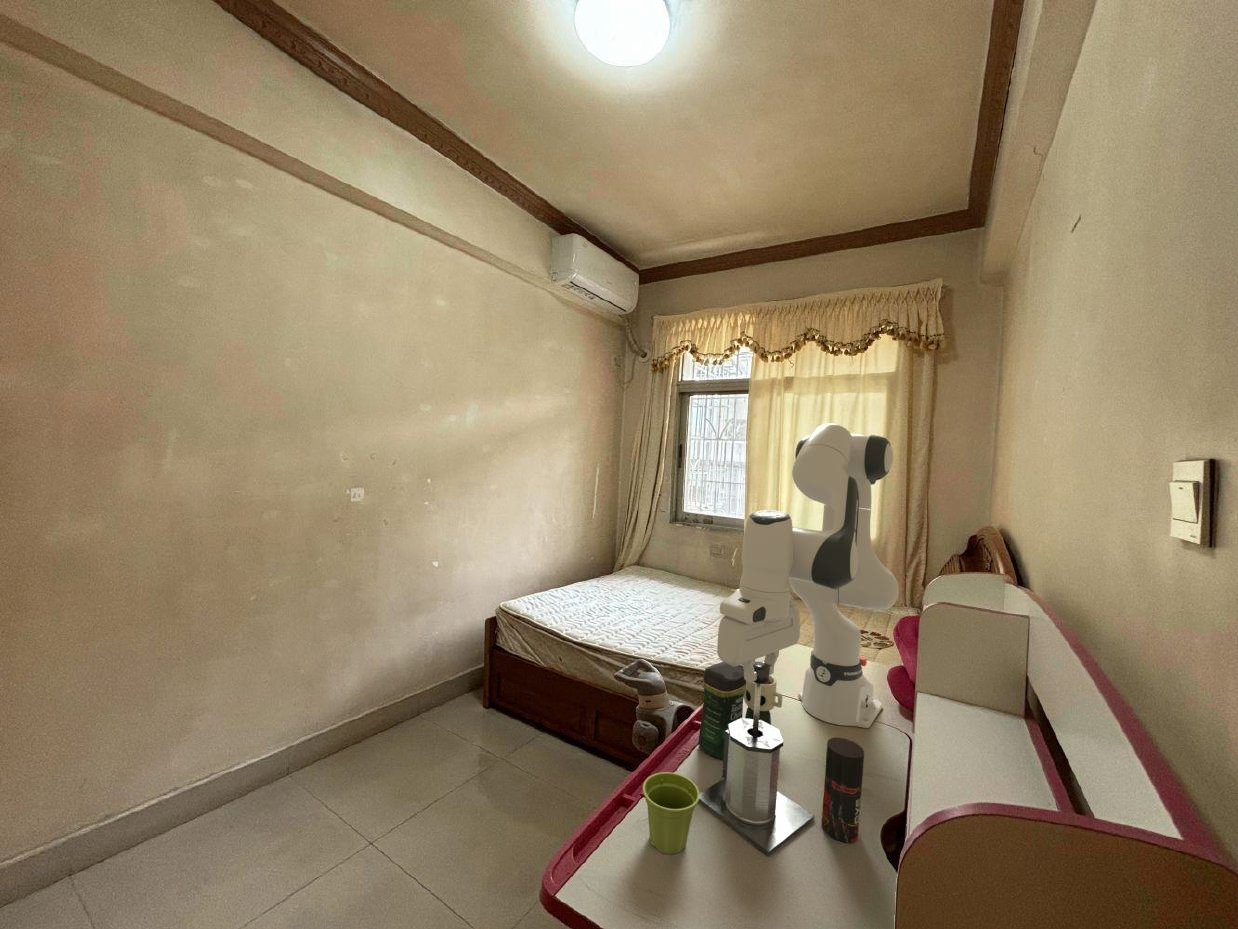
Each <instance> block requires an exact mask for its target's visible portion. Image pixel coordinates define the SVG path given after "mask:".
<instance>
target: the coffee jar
mask: <svg viewBox="0 0 1238 929" xmlns="http://www.w3.org/2000/svg"><path fill="white" fill-rule="evenodd" d="M703 672H704V674H703V679H702V681H703V682H702V685H703V701H702V702H703V703H702V704H703V705H702V713H701V721H700V725H699V726H700V727H699V732H698V733H699V734H698V746H699V747H700V748H701V750H702V751H703V752H705V753H706V754H707V755H709V756H711V757H715V758H719V759H722V760H723V757H724V741H725V731H726V730H728V724H730V723H732V722H734V721H736V720H738V719H740V718H743V717H744V716H743V714H744V713H743V711H744V692H745V688H746V680H745V679H744V669H743V666H742V664H741V665H739V666H736V667H734V666H731V665H729V664H727V663H725V662H723V661H720V662H719V663H716V664H712V665H710V666H708V667H706V668H705V669H704V671H703Z"/></svg>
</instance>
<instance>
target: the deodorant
mask: <svg viewBox="0 0 1238 929" xmlns="http://www.w3.org/2000/svg"><path fill="white" fill-rule="evenodd" d="M864 760H865V751H864V748H863V747H862V746H861V745H859V744H858V743H857V742H855V741H853V740H850V739H848V738H846V737H845V738H844V737H831V738H829V739H828V740H827V742H826V757H825V768H824V769H825V771H824V784H823V798H822V811H821V812H822V813H821V829H822V831H823V833H824V834H825V835H826V836H828V837H829V838H830V839H832V840H834V841H835V842H838V843H840V844H846V845H847V844H850V845H851V844H854V843H855V842H857V840H858V838H859V828H860V816H861V804H862V802H861V801H862V790H863V789H862V787H863V775H864V763H865V761H864Z"/></svg>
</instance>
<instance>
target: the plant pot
mask: <svg viewBox="0 0 1238 929" xmlns="http://www.w3.org/2000/svg"><path fill="white" fill-rule="evenodd" d="M642 793H643V795H644V797H645V802H646V804H647V805H646V807H647V815H648V825H649V826H648V828H649V838H650V839H649V840H650V842H651V844H652V845H653V846H654V847H656V849H657V850H658V851H659V852H661V853H665V854H670V855H672V854H673V855H675V854H678V853H679V852H681V851H682V850H683V849H685V847H686V846H687V842H688V836H689V833H690V827H691V821H692V817H693V812H694V810H695V808H696V805H697V804H698V803H699V802H698V800H699V793H700V791H699V788H698V786H697V784H695V782H693V780H692V779H690V778H688V777H686V776H684V775H682V774H680V773H676V772H670V771H662V772H657V773H654V774H651V775H650V776H648V777H647V778H646V779H645V780H644V782H643V783H642Z"/></svg>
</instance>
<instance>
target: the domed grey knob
mask: <svg viewBox="0 0 1238 929" xmlns="http://www.w3.org/2000/svg"><path fill="white" fill-rule="evenodd" d="M763 662H764V661H763ZM763 662H761V661H757V660H755V664H754V665H753V667H754V670H755V671H757V672H758V673H757V680H756V681H754V682H756V685H755V700H754V715H753V730H752V736H753V737H758V727H759V712H760V697H761V684H764V683H768V682H769V675H770V666H769V665H767V664H766V663H763Z"/></svg>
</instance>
